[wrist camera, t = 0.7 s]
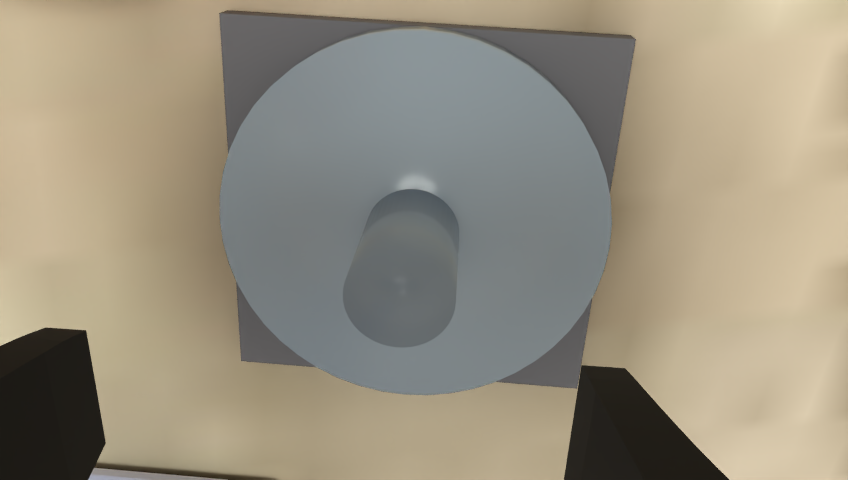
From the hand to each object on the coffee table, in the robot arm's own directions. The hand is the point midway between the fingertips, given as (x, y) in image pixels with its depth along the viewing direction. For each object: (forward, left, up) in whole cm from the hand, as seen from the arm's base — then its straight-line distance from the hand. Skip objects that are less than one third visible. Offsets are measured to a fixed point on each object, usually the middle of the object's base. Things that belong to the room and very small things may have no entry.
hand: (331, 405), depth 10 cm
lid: (-1, -1, -9) cm, 9 cm away
